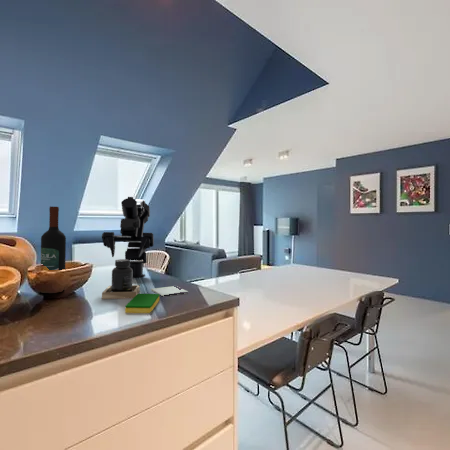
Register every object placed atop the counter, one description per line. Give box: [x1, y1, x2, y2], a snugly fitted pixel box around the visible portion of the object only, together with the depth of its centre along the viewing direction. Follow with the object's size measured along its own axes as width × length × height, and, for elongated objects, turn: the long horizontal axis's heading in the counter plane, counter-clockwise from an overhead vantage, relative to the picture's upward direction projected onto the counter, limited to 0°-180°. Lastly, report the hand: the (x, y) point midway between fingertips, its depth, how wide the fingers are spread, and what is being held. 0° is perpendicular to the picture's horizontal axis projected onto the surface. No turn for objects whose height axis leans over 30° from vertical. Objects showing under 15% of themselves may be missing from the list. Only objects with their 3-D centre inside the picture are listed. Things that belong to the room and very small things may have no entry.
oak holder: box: [101, 284, 141, 300], centre depth 99 cm, size 11×11×2 cm
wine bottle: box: [40, 206, 67, 270], centre depth 101 cm, size 8×8×30 cm
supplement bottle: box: [111, 258, 134, 292], centre depth 99 cm, size 7×7×12 cm
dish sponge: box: [124, 293, 161, 314], centre depth 87 cm, size 7×14×2 cm, turn 2°
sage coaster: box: [150, 285, 189, 297], centre depth 105 cm, size 10×10×1 cm
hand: (125, 256), depth 106 cm, fingers open, 9 cm apart
